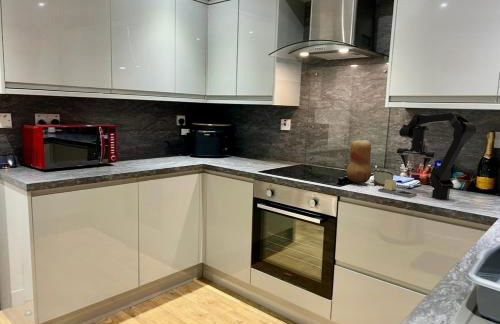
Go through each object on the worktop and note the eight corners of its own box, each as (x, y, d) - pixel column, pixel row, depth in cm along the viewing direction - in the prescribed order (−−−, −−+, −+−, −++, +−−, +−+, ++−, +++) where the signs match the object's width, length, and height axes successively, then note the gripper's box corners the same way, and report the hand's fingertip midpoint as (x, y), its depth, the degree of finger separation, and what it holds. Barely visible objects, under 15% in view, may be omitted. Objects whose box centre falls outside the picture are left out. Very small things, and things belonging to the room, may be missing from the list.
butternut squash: (340, 182, 213) (344, 138, 209) (354, 180, 221) (358, 138, 218) (361, 187, 202) (366, 141, 199) (375, 184, 211) (379, 140, 207)
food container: (397, 189, 202) (399, 170, 201) (392, 190, 198) (394, 171, 197) (377, 184, 211) (378, 167, 210) (371, 185, 207) (373, 168, 206)
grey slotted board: (416, 197, 183) (416, 193, 182) (409, 199, 177) (409, 195, 177) (385, 191, 194) (385, 187, 194) (377, 193, 188) (378, 189, 188)
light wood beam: (395, 192, 188) (396, 180, 187) (391, 193, 185) (392, 181, 184) (387, 190, 191) (388, 179, 190) (383, 191, 188) (385, 179, 187)
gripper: (443, 140, 190) (439, 170, 192) (406, 137, 203) (403, 165, 205) (435, 140, 182) (431, 172, 184) (397, 137, 195) (394, 166, 197)
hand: (414, 169), depth 193 cm, fingers open, 9 cm apart
